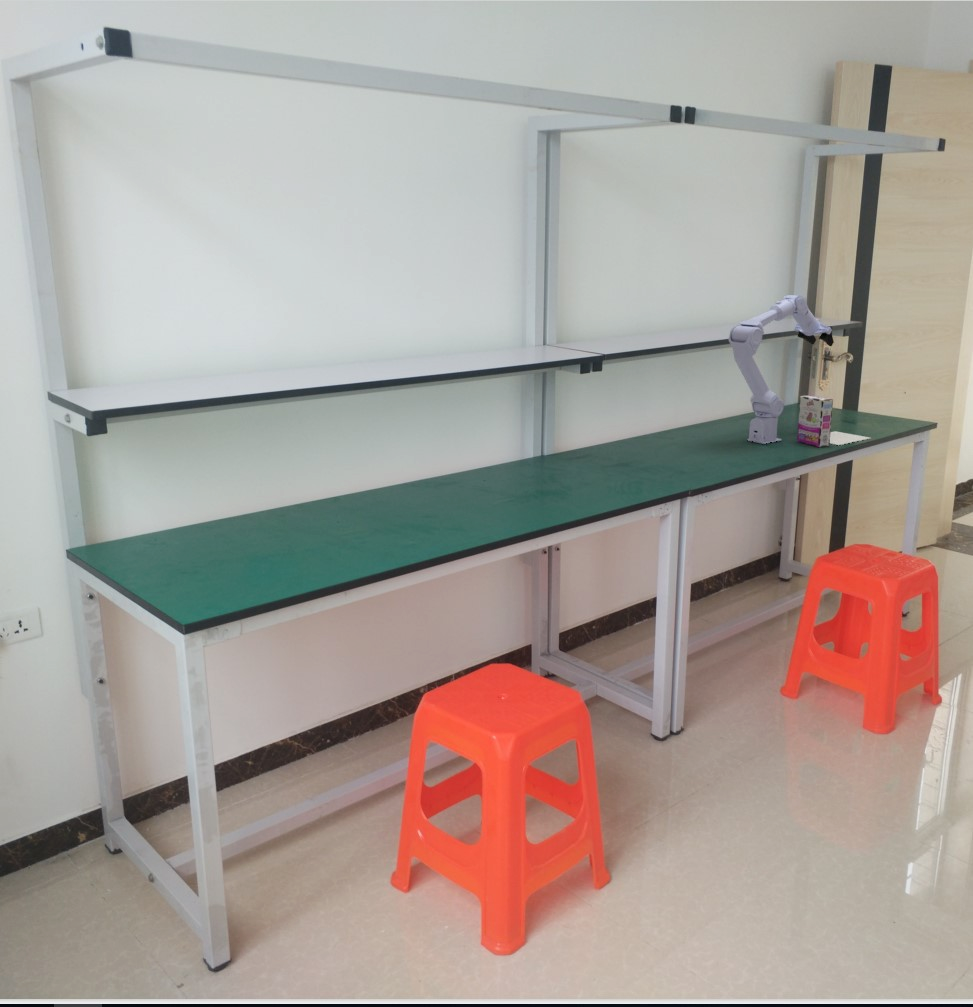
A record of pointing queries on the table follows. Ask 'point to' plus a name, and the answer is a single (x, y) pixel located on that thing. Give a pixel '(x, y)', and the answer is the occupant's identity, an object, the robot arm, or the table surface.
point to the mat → (844, 438)
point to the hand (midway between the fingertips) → (822, 343)
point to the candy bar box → (815, 420)
